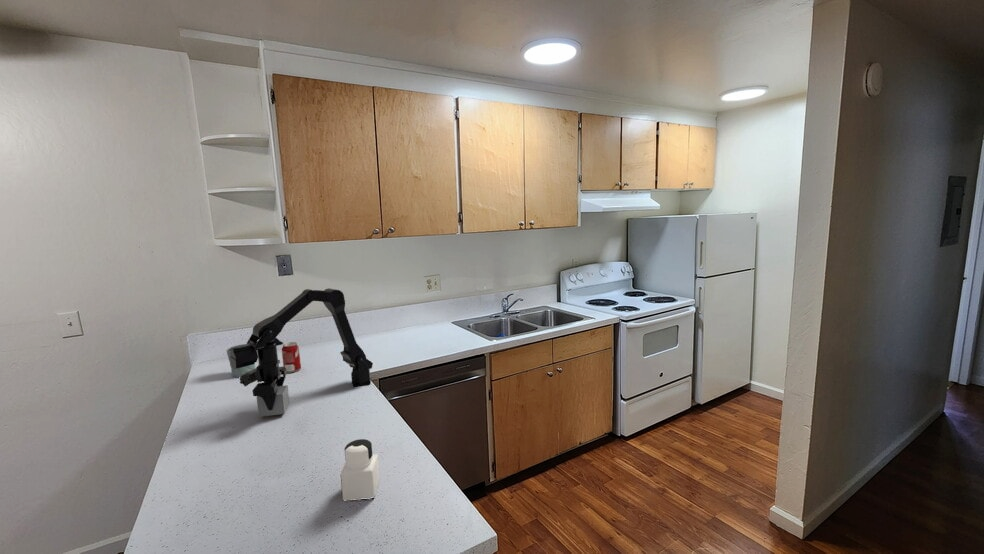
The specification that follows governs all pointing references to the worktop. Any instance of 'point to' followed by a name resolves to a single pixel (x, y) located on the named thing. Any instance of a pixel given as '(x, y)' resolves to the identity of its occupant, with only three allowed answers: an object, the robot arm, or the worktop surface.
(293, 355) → the soda can
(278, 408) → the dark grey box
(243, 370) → the green plant pot
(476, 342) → the worktop surface
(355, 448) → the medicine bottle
